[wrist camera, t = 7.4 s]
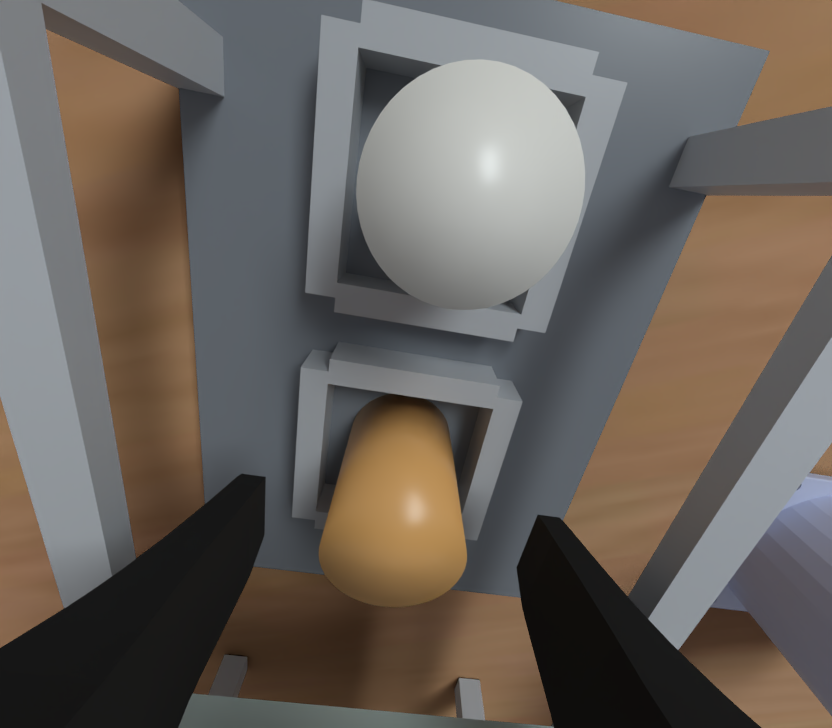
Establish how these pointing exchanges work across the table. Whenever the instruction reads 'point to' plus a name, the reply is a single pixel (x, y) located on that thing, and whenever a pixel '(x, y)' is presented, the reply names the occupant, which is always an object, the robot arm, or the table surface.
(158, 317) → the table surface
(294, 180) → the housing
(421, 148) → the white egg
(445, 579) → the brown egg
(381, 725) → the lid
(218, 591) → the robot arm
